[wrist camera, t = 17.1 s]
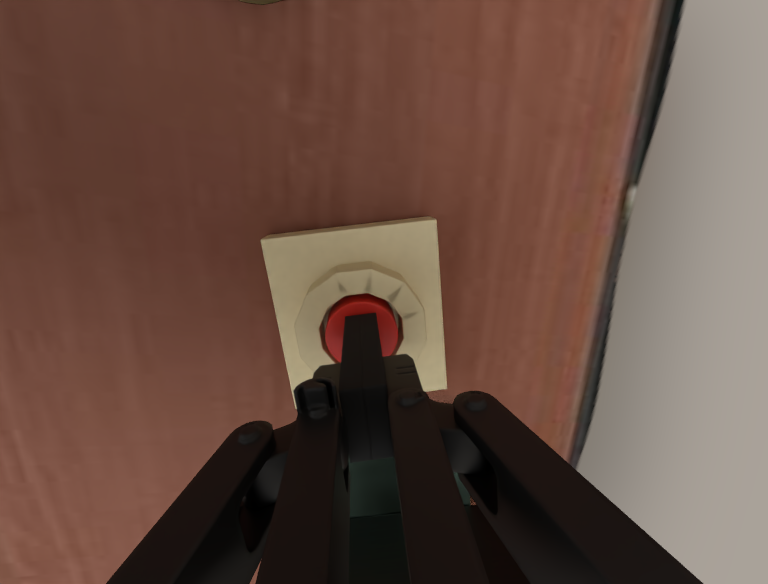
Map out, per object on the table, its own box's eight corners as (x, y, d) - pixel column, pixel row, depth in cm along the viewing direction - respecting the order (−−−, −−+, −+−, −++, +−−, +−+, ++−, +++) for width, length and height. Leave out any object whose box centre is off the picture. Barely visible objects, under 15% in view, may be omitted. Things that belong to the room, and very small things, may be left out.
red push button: (322, 295, 19) (319, 306, 17) (391, 286, 19) (394, 297, 18) (333, 356, 20) (330, 373, 18) (397, 348, 20) (401, 364, 19)
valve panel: (234, 407, 23) (223, 430, 21) (519, 369, 24) (535, 388, 22) (288, 609, 28) (282, 643, 26) (518, 573, 29) (530, 603, 27)
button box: (267, 234, 20) (249, 245, 17) (430, 216, 20) (444, 222, 17) (299, 393, 23) (289, 429, 20) (441, 374, 23) (455, 407, 20)
